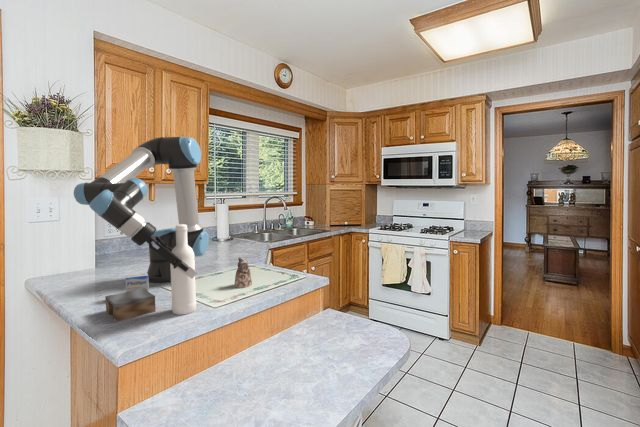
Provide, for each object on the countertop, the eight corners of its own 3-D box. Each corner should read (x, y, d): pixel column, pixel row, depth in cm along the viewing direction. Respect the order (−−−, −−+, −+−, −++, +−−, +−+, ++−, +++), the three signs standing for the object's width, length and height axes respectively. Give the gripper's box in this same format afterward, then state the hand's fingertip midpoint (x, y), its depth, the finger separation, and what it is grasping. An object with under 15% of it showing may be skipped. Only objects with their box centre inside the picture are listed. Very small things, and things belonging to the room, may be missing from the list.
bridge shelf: (143, 303, 126) (142, 288, 126) (155, 311, 118) (154, 295, 117) (106, 311, 118) (105, 296, 117) (116, 321, 109) (115, 304, 109)
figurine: (239, 288, 143) (239, 260, 142) (231, 285, 148) (231, 258, 147) (254, 285, 147) (254, 258, 146) (246, 282, 153) (245, 255, 152)
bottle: (178, 317, 113) (175, 227, 110) (167, 311, 118) (164, 225, 115) (201, 310, 119) (198, 224, 116) (189, 304, 124) (186, 222, 121)
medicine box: (126, 300, 129) (124, 278, 129) (126, 297, 133) (125, 275, 132) (149, 297, 133) (148, 275, 132) (149, 293, 137) (148, 272, 136)
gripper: (131, 234, 118) (183, 274, 127) (127, 243, 100) (188, 289, 108) (148, 218, 120) (197, 258, 128) (146, 224, 102) (205, 271, 110)
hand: (193, 272), depth 118 cm, fingers closed on bottle, 8 cm apart
